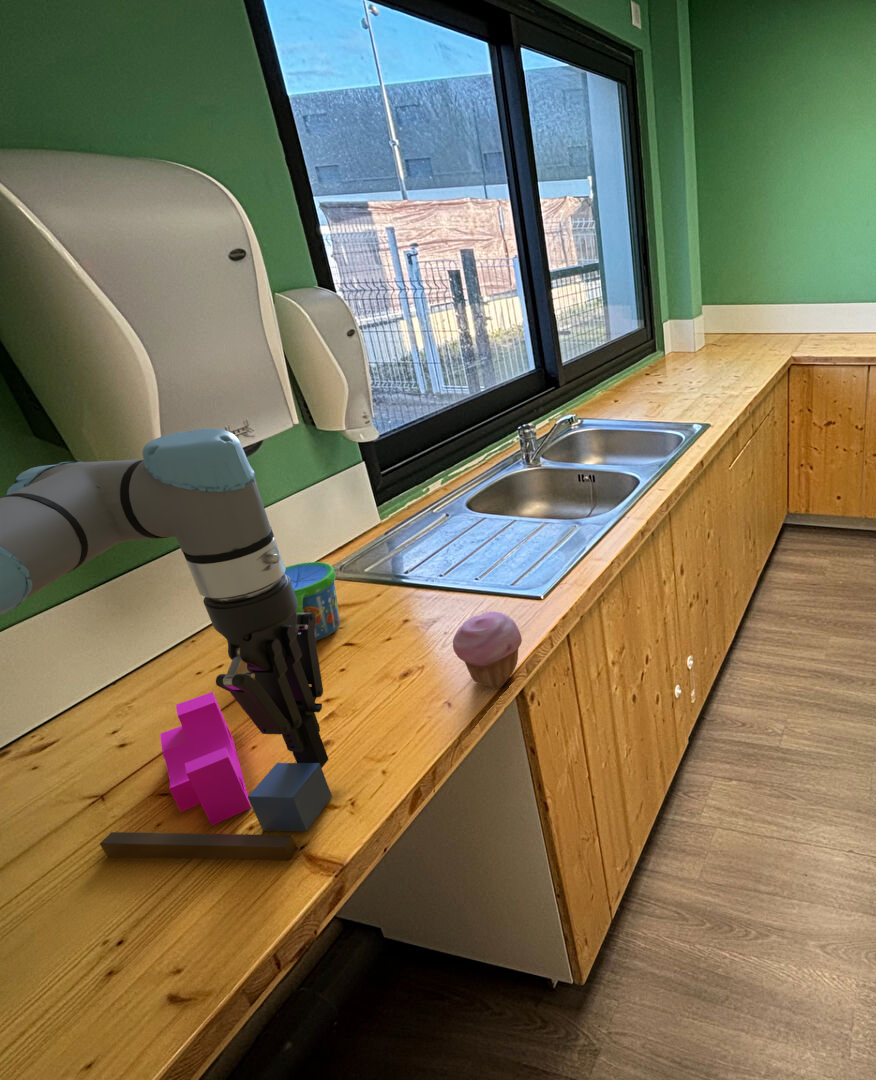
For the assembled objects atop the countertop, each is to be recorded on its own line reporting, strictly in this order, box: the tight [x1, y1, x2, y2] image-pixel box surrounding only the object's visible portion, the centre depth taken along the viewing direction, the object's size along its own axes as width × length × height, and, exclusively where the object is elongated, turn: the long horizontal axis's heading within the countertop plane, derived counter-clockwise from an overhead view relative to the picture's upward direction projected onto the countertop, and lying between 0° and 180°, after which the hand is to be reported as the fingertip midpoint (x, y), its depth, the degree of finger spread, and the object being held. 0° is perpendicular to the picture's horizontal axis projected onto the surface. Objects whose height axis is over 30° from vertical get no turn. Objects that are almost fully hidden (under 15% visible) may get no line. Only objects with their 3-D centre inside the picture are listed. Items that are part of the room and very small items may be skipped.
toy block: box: [159, 691, 252, 826], centre depth 81 cm, size 15×6×8 cm, turn 39°
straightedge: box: [99, 831, 299, 861], centre depth 73 cm, size 20×2×2 cm, turn 87°
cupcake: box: [452, 611, 523, 689], centre depth 97 cm, size 9×9×10 cm
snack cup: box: [284, 561, 340, 642], centre depth 110 cm, size 16×10×10 cm
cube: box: [248, 762, 333, 832], centre depth 76 cm, size 5×5×5 cm
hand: (313, 763), depth 80 cm, fingers closed
